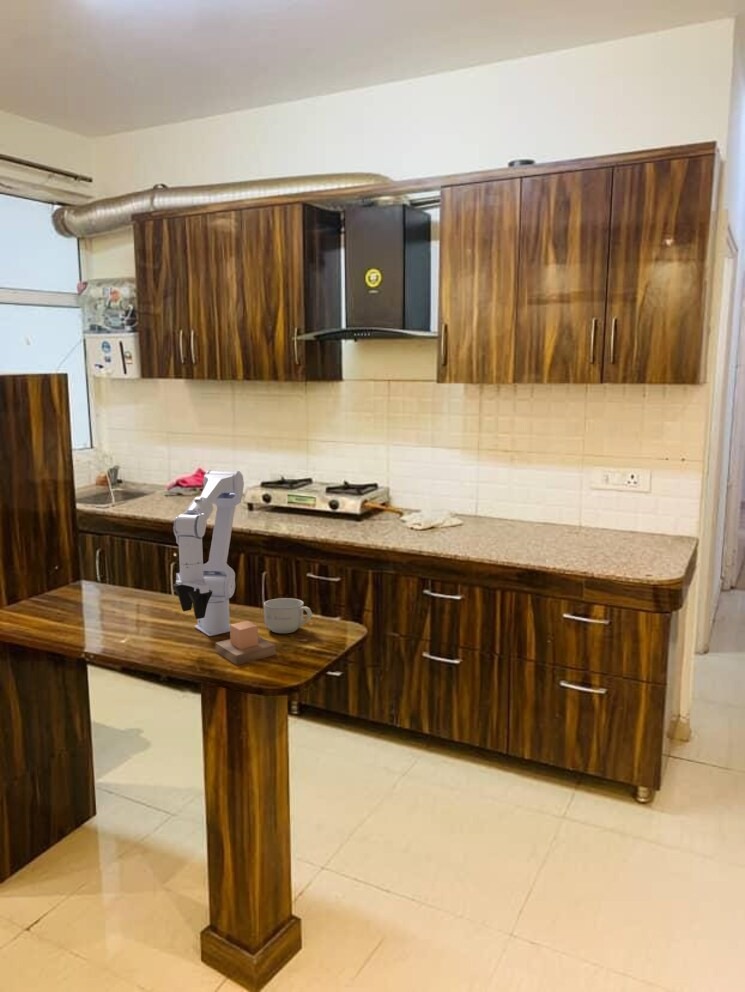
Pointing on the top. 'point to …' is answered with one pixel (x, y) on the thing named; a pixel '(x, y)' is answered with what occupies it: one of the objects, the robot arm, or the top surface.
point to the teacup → (285, 614)
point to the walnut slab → (245, 651)
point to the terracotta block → (244, 634)
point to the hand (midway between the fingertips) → (193, 614)
